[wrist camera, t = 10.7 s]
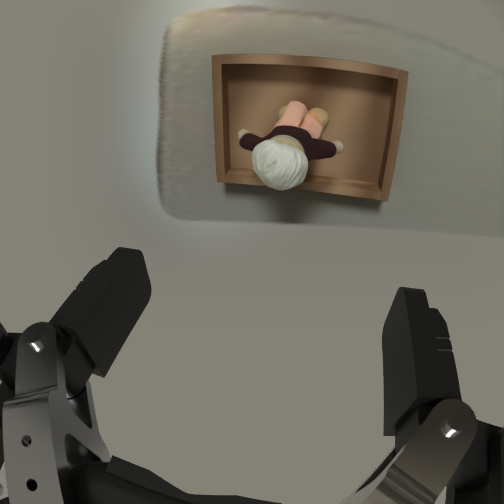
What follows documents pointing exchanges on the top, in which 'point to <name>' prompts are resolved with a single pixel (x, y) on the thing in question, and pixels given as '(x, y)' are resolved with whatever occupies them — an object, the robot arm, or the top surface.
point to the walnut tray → (312, 96)
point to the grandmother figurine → (290, 146)
